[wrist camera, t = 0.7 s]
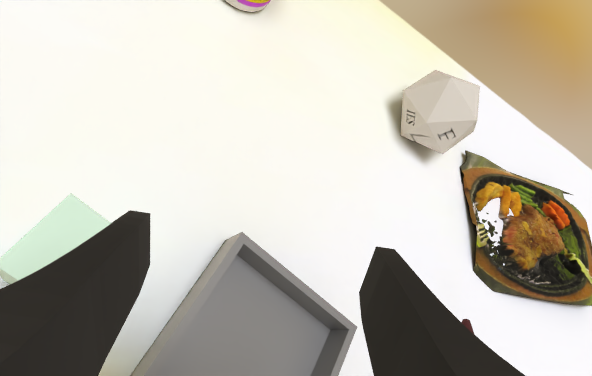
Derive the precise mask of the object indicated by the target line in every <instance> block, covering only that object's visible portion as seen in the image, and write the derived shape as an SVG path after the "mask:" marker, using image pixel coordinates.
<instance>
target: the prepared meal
mask: <svg viewBox="0 0 592 376" xmlns="http://www.w3.org/2000/svg"><path fill="white" fill-rule="evenodd" d="M465 153H466V162H465V163H464V164H463V165H462V166H461V178H462V183H463V181H464V193H465V195H466V198H467V201H468V204H469V207H470V208H469V210H470V216H471V219H472V223H473V224H475V225H476V226H477V227H476V228H477V244H476V263H475V266H474V269H473V271H474V272H475V274H476V275H477V276H478V277H479V278H480V279H481V280H482V281H483V282H484V283H485V284H486V285H487V286H488V287H489V288H490V289H492V290H493V291H496V292H501V293H507V294H512V295H518V296H523V297H529V298H534V299H540V300H546V301H552V302H559V303H565V304H573V305H589V306H592V244H591V240H590V236H589V231H588V227H587V222H586V220H585V218H584V217H583V216H582V214H581V213H580V211H578V210H577V209H576V208H575V207H574V206H573V205H572V204H570V203H569V202H568V201H567V200H565V199H564V196H563V193H566V192H564V191H562V190H560V189H557V188H554V187H551V186H548V185H545V184H542V183H539V182H536V181H533V180H530V179H527V178H524V177H522V176H519V175H516V174H513V173H511V172H508V171H506V170H504V169H503V168H501V167H499V166H498V165H496V164H494V163H493V162H491V161H489V160H488V159H486V158H484V157H482V156H479V155H476V154H474V153H471V152H468V151H465ZM566 194H569V193H566ZM570 195H572V194H570ZM498 197H499V198H500V211H499V218H500V219H502V220H503V223H504V224H503V231H502V237H501V236H500V241H498V243H499V244H500V245H498V246H497V247H496V246H494V245H492V244H494V243H495V242H497V241H494V242H492V241H491V240H490V238H489V237H488V235H487V234H488V233H487V232H490V234H491V237H492V236H493V235H494V234H493V231H494V230H495V227H494V226H492V225H491V224H490V222H489V221H488V225H489V230H486V229H485V226H484V224H482V223H480V222H478V221H479V217H478V213H477V211H481V210H482V209H483V207H484V206H486V204H487V203H488V202H489V201H491V199H495V198H498ZM473 202H474V206H473ZM476 208H477V210H476ZM509 208H510V209H511V211H512V212H513V214H514V216H507V215H508V214H509ZM487 214H488V213H487ZM476 220H477V221H476ZM486 221H487V220H483V219H482V222H483V223H485V222H486ZM495 222H497V221H495ZM494 232H495V231H494ZM495 234H498V233H497V232H495ZM493 246H494V248H492V247H493ZM497 250H498V252H497ZM491 253H494V255H493V256H492V257H491V255H490V254H491ZM498 253H499V254H498ZM503 263H504V264H505V266H503Z"/></svg>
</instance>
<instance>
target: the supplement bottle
mask: <svg viewBox="0 0 592 376" xmlns="http://www.w3.org/2000/svg"><path fill="white" fill-rule="evenodd" d="M225 1H227V2H228V3H229V4H231V5H232V6H234V7H236V8H238V9H240V10H243V11H248V12H255V11H259V10H262V9H263V8H265V7H266V6H267V4H268V3H269V2H270V0H225Z"/></svg>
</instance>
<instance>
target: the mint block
mask: <svg viewBox="0 0 592 376" xmlns="http://www.w3.org/2000/svg"><path fill="white" fill-rule="evenodd" d="M110 224H111V223H110V222H109V221H108V220H106V219H105V218H104V217H102V216H101V215H100V214H98V213H97V212H96V211H94V210H93V209H92V208H90V207H89V206H88V205H86V204H85V203H84V202H82V201H81V200H80V199H78V198H77V197H76V196H74V195H73V194H72V193H71V194H70V195H69V196H67V197H66V198H65V199H64V200H63V201H62V202H61V203H60V204H59V205H58V206H56V207H55V208H54V209H53V210H52V211H51V212H50V213H49V214H48V215H47V216H46V217H44V218H43V219H42V220H41V221H40V222H39V223H38V224H37V225H36V226H35V227H34V228H32V229H31V230H30V231H29V232H28V233H27V234H26V235H25V236H24V237H23V238H22V239H20V240H19V241H18V242H17V243H16V244H15V245H14V246H13V247H12V248H11V249H10V250H8V251H7V252H6V253H5V254H4V255H3V256H2V257H1V258H0V276H1V277H2V279H3V280H4V281H6V282H7V283H9V284H12V283H14V282H16V281H18V280H20V279H22V278H24V277H26V276H28V275H30V274H32V273H34V272H36V271H38V270H39V269H41V268H43V267H45V266H47V265H48V264H50V263H52V262H53V261H55V260H57V259H58V258H60V257H61V256H63V255H65V254H66V253H68V252H70V251H71V250H73V249H74V248H76V247H78V246H79V245H81V244H82V243H83V242H85V241H86V240H88V239H89V238H91V237H92V236H94V235H95V234H97V233H98V232H100V231H101V230H103V229H104V228H105V227H107V226H108V225H110Z"/></svg>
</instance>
